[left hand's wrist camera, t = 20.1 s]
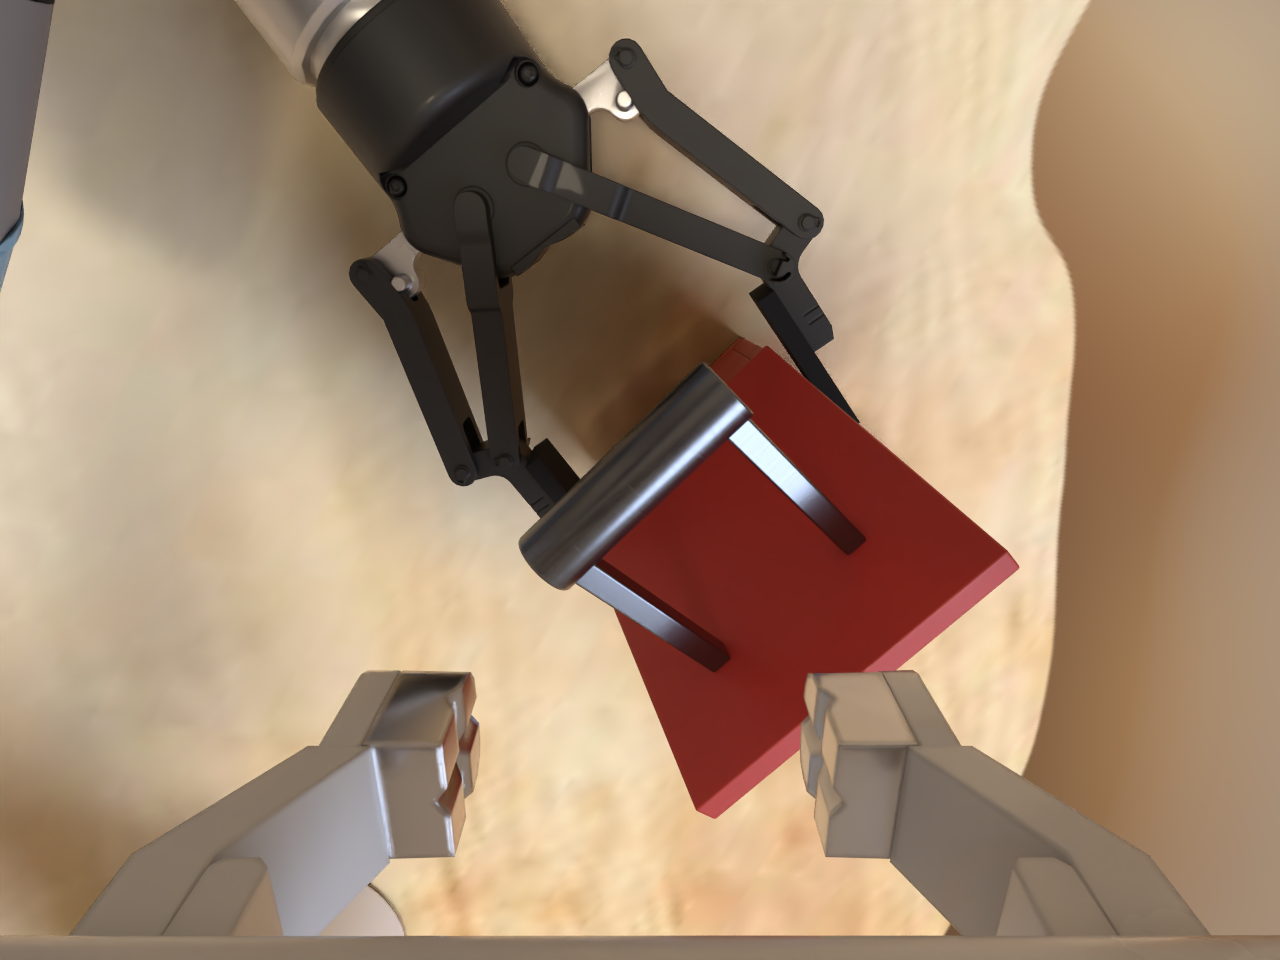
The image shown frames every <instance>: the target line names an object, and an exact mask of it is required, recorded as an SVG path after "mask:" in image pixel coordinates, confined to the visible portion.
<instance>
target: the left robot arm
mask: <svg viewBox="0 0 1280 960" xmlns="http://www.w3.org/2000/svg"><path fill="white" fill-rule="evenodd" d="M475 700H476V689H475V681H474V677H473V675H472V674H471V672H441V671H402V672H401V671H366V672H364V673H363V674H361V675H360V677H359V678H358V680H357V682H356V683H355V685H354V687H353V688H352V690H351V692H350V694H349V695H348V697H347V699H346V700H345V702H344V704H343V705H342V707H341V709H340V710H339V712H338V714H337V716H336V717H335V719H334V721H333V722H332V724H331V726H330V727H329V729H328V731H327V733H326V734H325V736H324V738H323V739H322V741H321V743H320V744H319V746H307V747H306V748H304V749H302V750H301V751H299V752H297V753H296V754H294V755H293V756H291V757H289V758H288V759H286V760H284V761H283V762H281V763H279V764H278V765H276V766H275V767H273V768H271V769H270V770H268V771H266V772H265V773H263V774H262V775H260V776H258V777H257V778H255V779H253V780H252V781H250V782H249V783H247V784H245V785H244V786H242V787H240V788H239V789H237V790H236V791H234V792H232V793H231V794H229V795H227V796H226V797H224V798H222V799H221V800H219V801H218V802H216V803H214V804H213V805H211V806H209V807H208V808H206V809H205V810H203V811H201V812H200V813H198V814H196V815H195V816H193V817H192V818H190V819H188V820H187V821H185V822H183V823H182V824H180V825H178V826H177V827H175V828H174V829H172V830H170V831H169V832H167V833H165V834H164V835H162V836H161V837H159V838H157V839H156V840H154V841H152V842H151V843H149V844H148V845H146V846H144V847H143V848H141V849H139V850H138V851H136V852H135V853H133V854H132V855H131V856H130V857H129V858H128V860H127V861H126V862H125V864H124V865H123V866H122V867H121V869H120V870H119V871H118V873H117V874H116V875H115V876H114V878H113V879H112V880H111V882H110V883H109V884H108V885H107V887H106V888H105V889H104V891H103V892H102V893H101V894H100V896H99V897H98V898H97V900H96V901H95V902H94V904H93V905H92V906H91V907H90V909H89V910H88V911H87V913H86V914H85V915H84V916H83V918H82V919H81V920H80V922H79V923H78V924H77V925H76V927H75V928H74V929H73V931H72V932H71V933H70V934H69V936H0V960H1280V936H1211V934H1210V933H1209V932H1208V931H1207V929H1206V928H1205V927H1204V925H1203V924H1202V923H1201V921H1200V920H1199V919H1198V918H1197V916H1196V915H1195V914H1194V912H1193V911H1192V910H1191V908H1190V907H1189V906H1188V905H1187V903H1186V902H1185V901H1184V899H1183V898H1182V897H1181V896H1180V894H1179V893H1178V892H1177V890H1176V889H1175V888H1174V887H1173V885H1172V884H1171V883H1170V881H1169V880H1168V879H1167V877H1166V876H1165V875H1164V874H1163V872H1162V871H1161V870H1160V868H1159V867H1158V866H1157V864H1156V863H1155V862H1154V860H1153V859H1152V858H1151V857H1150V855H1148V854H1147V853H1145V852H1143V851H1142V850H1140V849H1138V848H1137V847H1135V846H1133V845H1132V844H1130V843H1129V842H1127V841H1125V840H1124V839H1122V838H1121V837H1119V836H1117V835H1116V834H1114V833H1112V832H1111V831H1109V830H1108V829H1106V828H1104V827H1103V826H1101V825H1099V824H1098V823H1096V822H1095V821H1093V820H1091V819H1090V818H1088V817H1086V816H1085V815H1083V814H1082V813H1080V812H1078V811H1077V810H1075V809H1073V808H1072V807H1070V806H1069V805H1067V804H1065V803H1064V802H1062V801H1060V800H1059V799H1057V798H1056V797H1054V796H1052V795H1051V794H1049V793H1047V792H1046V791H1044V790H1043V789H1041V788H1039V787H1038V786H1036V785H1035V784H1033V783H1031V782H1030V781H1028V780H1026V779H1025V778H1023V777H1022V776H1020V775H1018V774H1017V773H1015V772H1013V771H1012V770H1010V769H1009V768H1007V767H1005V766H1004V765H1002V764H1000V763H999V762H997V761H996V760H994V759H992V758H991V757H989V756H987V755H986V754H984V753H983V752H981V751H979V750H978V749H976V748H974V747H973V746H961V744H960V743H959V741H958V739H957V738H956V736H955V734H954V733H953V731H952V729H951V728H950V726H949V724H948V723H947V721H946V719H945V718H944V716H943V714H942V713H941V711H940V709H939V708H938V706H937V704H936V703H935V701H934V699H933V698H932V696H931V694H930V692H929V691H928V689H927V687H926V686H925V684H924V682H923V681H922V679H921V677H920V676H919V674H918V673H916V672H915V671H913V670H900V671H878V672H845V673H808V674H807V677H806V681H805V688H804V700H805V704H806V707H807V710H808V713H809V715H808V716H807V717H806V718H805V719H804V720H803V722H802V723H801V732H800V760H801V768H802V774H803V779H804V783H805V786H806V790H807V792H808V793H809V794H810V795H811V796H813V797H814V798H815V799H816V801H815V811H814V819H815V822H816V826H817V829H818V833H819V836H820V840H821V843H822V846H823V850H824V853H825V857H847V858H882V859H890V862H891V863H892V864H893V865H894V866H895V867H896V868H897V869H898V870H899V871H900V872H901V873H902V874H903V875H904V876H905V878H906V879H907V880H908V881H909V882H910V883H911V884H912V885H913V886H914V887H915V888H916V889H917V890H918V891H919V892H920V893H921V894H922V895H923V896H924V897H925V898H926V899H927V900H928V901H929V902H930V903H931V904H932V905H933V906H934V907H935V908H936V909H937V910H938V911H939V912H940V913H941V914H942V915H943V916H944V917H945V918H946V919H947V920H948V921H949V922H950V923H951V924H952V925H953V926H954V927H955V928H956V930H957V931H958V932H959V933H960V934H961V935H962V936H405V934H404V931H403V928H402V925H401V923H400V921H399V919H398V917H397V915H396V913H395V912H394V911H393V909H392V908H391V907H390V905H389V904H388V903H387V902H386V901H385V900H384V899H383V898H382V897H381V896H380V895H379V894H378V893H377V892H376V891H374V890H373V889H372V888H371V887H369V886H368V884H369V883H370V882H371V881H372V880H373V879H374V878H375V877H376V876H377V875H378V874H379V873H380V872H381V871H382V870H383V869H384V868H385V867H386V866H387V865H388V864H389V863H390V861H389V859H397V858H431V857H455V854H456V850H457V847H458V843H459V840H460V836H461V833H462V829H463V826H464V822H465V819H466V811H465V801H464V799H465V798H466V797H467V796H469V795H470V794H471V793H472V792H473V790H474V786H475V782H476V779H477V774H478V766H479V758H480V730H479V723H478V722H477V720H476V719H475V718H474V717H473V716H472V715H471V713H472V710H473V707H474V704H475Z"/></svg>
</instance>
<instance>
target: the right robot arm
mask: <svg viewBox="0 0 1280 960" xmlns="http://www.w3.org/2000/svg"><path fill="white" fill-rule="evenodd" d="M54 1H55V0H0V291H1V288H2V284H3V281H4V277H5V274H6V271H7V267H8V264H9V260H10V257H11V254H12V250H13V247H14V245H15V244H16V242H17V241H18V239H19V236H20V234H21V230H22V226H23V217H24V208H23V200H22V198H23V192H24V186H25V179H26V173H27V167H28V161H29V155H30V148H31V142H32V136H33V130H34V124H35V117H36V111H37V105H38V99H39V93H40V86H41V80H42V74H43V68H44V62H45V55H46V49H47V43H48V37H49V31H50V24H51V18H52V12H53V6H54ZM234 1H235V2H236V4H237V5H238V6H239V7H240V9H241V10H242V11H243V13H244V14H245V15H246V16H247V18H248V19H249V20H250V22H251V23H252V24H253V26H254V27H255V28H256V29H257V31H258V32H259V33H260V35H261V36H262V37H263V38H264V40H265V41H266V42H267V44H268V45H269V46H270V47H271V49H272V50H273V51H274V53H275V54H276V55H277V57H278V58H279V59H280V60H281V62H282V63H283V64H284V66H285V67H286V68H287V69H288V71H289V72H290V73H291V75H292V76H293V77H294V79H295V80H296V81H298V82H300V83H302V84H303V85H308V86H313V87H316V94H317V106H318V108H319V109H320V111H321V112H322V113H323V114H324V116H325V117H326V118H327V120H328V121H329V122H330V123H331V125H332V126H333V127H334V128H335V130H336V131H337V132H338V133H339V135H340V136H341V137H342V138H343V140H344V141H345V142H346V144H347V145H348V146H349V147H350V149H351V150H352V151H353V152H354V154H355V155H356V156H357V157H358V159H359V160H360V161H361V163H362V164H363V165H364V166H365V168H366V169H367V170H368V171H369V173H370V174H371V175H372V176H373V178H374V179H375V180H376V181H377V183H378V184H379V185H380V187H381V188H382V189H383V190H384V191H385V193H386V194H387V195H388V196H389V198H390V199H391V201H392V202H393V204H394V206H395V208H396V211H397V213H398V217H399V221H400V226H401V230H402V231H401V232H400V233H399V234H398V235H396V236H395V237H394V238H393V239H392V240H391V241H389V242H388V243H387V244H386V245H385V246H384V247H383V248H381V249H380V250H379V251H378V252H377V253H376V254H374V255H373V256H372V257H369V258H364V259H359V260H357V261H355V262H354V263H353V264H352V265H351V267H350V271H349V276H350V280H351V282H352V283H353V285H354V286H355V287H356V288H357V290H358V291H359V292H360V293H361V294H362V295H363V297H364V298H365V299H366V300H367V301H368V302H369V304H370V305H371V306H372V307H373V308H374V309H375V311H376V312H377V313H378V314H379V315H380V316H381V318H382V319H383V320H384V322H385V325H386V327H387V329H388V332H389V334H390V337H391V339H392V341H393V344H394V346H395V348H396V351H397V353H398V356H399V358H400V360H401V363H402V365H403V368H404V370H405V372H406V375H407V377H408V380H409V382H410V384H411V387H412V389H413V391H414V394H415V396H416V399H417V401H418V403H419V406H420V408H421V411H422V413H423V415H424V418H425V420H426V423H427V425H428V427H429V430H430V432H431V434H432V437H433V439H434V442H435V444H436V446H437V449H438V451H439V454H440V456H441V458H442V461H443V463H444V466H445V468H446V470H447V473H448V475H449V477H450V479H451V480H452V482H454V483H455V484H457V485H460V486H468V485H470V484H472V483H473V482H474V481H475V480H478V479H482V478H485V477H489V476H501V477H504V478H506V479H507V480H508V481H510V482H511V484H512V485H513V486H514V487H515V488H516V489H517V491H518V492H519V493H520V494H521V495H522V497H523V498H524V499H525V500H526V501H527V503H528V504H529V505H531V507H532V508H533V510H534V511H535V512H536V513H537V514H538V516H539V517H540V518H541V517H542V516H543V515H544V514H545V513H546V512H547V511H548V510H549V509H551V508H552V507H553V506H554V505H555V504H556V503H557V502H558V501H559V500H560V499H561V498H562V497H563V496H564V495H565V494H566V493H567V492H568V491H569V490H570V489H571V488H572V487H573V486H574V485H575V484H576V483H577V482H578V481H579V480H580V478H579V477H578V476H577V475H576V473H575V472H574V471H573V470H572V468H571V467H570V466H569V465H568V463H567V462H566V461H565V460H564V458H563V457H562V456H561V455H560V453H559V452H558V451H557V450H556V448H555V447H554V446H553V445H552V444H551V442H550V441H549V440H548V439H547V438H546V439H545V440H543V441H542V442H541V443H539V444H538V445H536V446H535V447H534V448H533V451H532V450H531V449H530V448H529V444H530V438H528V439H527V430H526V421H525V412H524V403H523V394H522V386H521V377H520V368H519V359H518V350H517V341H516V332H515V323H514V315H513V286H512V276H516V275H517V276H519V275H520V274H522V273H523V272H525V271H526V270H528V269H529V268H530V267H531V266H533V265H534V264H535V263H537V262H538V261H539V260H540V259H541V258H542V256H543V255H544V253H545V252H546V251H547V249H548V248H549V247H550V245H551V244H554V243H556V242H559V241H561V240H564V239H566V238H568V237H569V236H571V235H572V234H574V233H575V232H576V231H577V230H579V229H580V228H581V227H582V226H584V225H585V224H584V223H585V221H586V220H587V218H588V216H589V214H590V211H591V210H593V211H595V212H598V213H600V214H603V215H605V216H608V217H610V218H613V219H616V220H619V221H621V222H624V223H626V224H629V225H631V226H634V227H636V228H639V229H641V230H644V231H646V232H649V233H651V234H654V235H656V236H658V237H661V238H663V239H666V240H668V241H671V242H673V243H676V244H678V245H681V246H683V247H686V248H688V249H691V250H693V251H695V252H698V253H700V254H703V255H705V256H708V257H710V258H713V259H715V260H718V261H720V262H723V263H725V264H728V265H730V266H733V267H735V268H737V269H740V270H742V271H745V272H747V273H750V274H752V275H755V276H757V277H760V278H761V279H762V281H763V282H764V283H763V284H761V285H760V286H759V287H757V288H756V289H754V290H753V291H752V292H750V293H749V295H750V296H751V298H752V299H753V301H754V302H755V304H756V305H757V307H758V308H759V310H760V311H761V313H762V314H763V316H764V317H765V319H766V320H767V322H768V323H769V325H770V326H771V328H772V329H773V331H774V332H775V334H776V335H777V337H778V338H779V340H780V341H781V343H782V344H783V346H784V348H785V349H786V351H787V352H788V354H789V355H790V357H791V358H792V360H793V361H794V363H795V364H796V366H797V367H798V369H799V370H800V372H801V373H802V375H803V376H804V377H805V378H806V379H807V380H808V381H809V382H810V383H812V384H813V385H814V386H815V387H816V388H817V389H819V390H820V391H821V392H822V393H823V394H824V395H826V396H827V397H828V398H829V399H830V400H831V401H833V402H834V403H835V404H836V405H837V406H838V407H840V408H841V409H842V410H843V411H844V412H846V413H847V414H848V415H849V416H850V417H851V418H853V419H854V420H855V421H856V422H857V423H860V422H859V420H858V419H857V417H856V416H855V414H854V413H853V411H852V410H851V408H850V406H849V405H848V403H847V402H846V400H845V399H844V397H843V396H842V394H841V393H840V391H839V389H838V388H837V386H836V385H835V383H834V382H833V380H832V379H831V377H830V376H829V374H828V373H827V371H826V369H825V368H824V366H823V365H822V363H821V362H820V360H819V359H818V357H817V356H816V354H815V351H817V350H818V349H819V348H821V347H822V346H824V345H825V344H827V343H828V342H830V341H831V340H833V339H834V337H833V331H832V325H831V324H830V322H829V321H828V319H827V317H826V316H825V314H824V313H823V311H822V310H821V308H820V306H819V305H818V303H817V302H816V300H815V298H814V297H813V295H812V294H811V292H810V291H809V289H808V287H807V286H806V284H805V283H804V281H803V280H802V278H801V276H800V274H799V271H798V261H799V258H800V256H801V254H802V252H803V251H804V249H805V248H806V247H807V245H808V244H809V242H810V241H811V240H812V238H814V237H816V236H817V235H818V234H819V233H820V232H821V230H822V227H823V222H824V219H823V215H822V213H821V212H820V210H819V209H818V208H817V207H815V206H814V205H813V204H812V203H810V202H809V201H808V200H806V199H805V198H804V197H803V196H801V195H800V194H799V193H797V192H796V191H795V190H794V189H792V188H791V187H790V186H789V185H787V184H786V183H785V182H783V181H782V180H781V179H780V178H778V177H777V176H776V175H774V174H773V173H772V172H771V171H769V170H768V169H767V168H766V167H764V166H763V165H762V164H760V163H759V162H758V161H757V160H755V159H754V158H753V157H751V156H750V155H749V154H748V153H746V152H745V151H744V150H743V149H741V148H740V147H739V146H737V145H736V144H735V143H734V142H732V141H731V140H730V139H729V138H727V137H726V136H725V135H723V134H722V133H721V132H720V131H718V130H717V129H716V128H714V127H713V126H712V125H711V124H709V123H708V122H707V121H706V120H704V119H703V118H702V117H700V116H699V115H698V114H697V113H695V112H694V111H693V110H691V109H690V108H689V107H688V106H686V105H685V104H684V103H683V102H681V101H680V100H679V99H677V98H676V97H675V96H674V95H672V94H671V93H670V92H668V91H667V89H666V88H665V86H664V84H663V83H662V81H661V79H660V78H659V76H658V75H657V73H656V71H655V70H654V68H653V67H652V65H651V63H650V62H649V60H648V58H647V57H646V55H645V54H644V52H643V50H642V49H641V47H640V46H639V45H638V44H637V43H636V42H635V41H633V40H631V39H621V40H619V41H617V42H616V43H615V44H614V45H613V46H612V48H611V51H610V54H609V59H608V60H606V61H605V62H604V63H603V64H601V65H600V66H599V67H598V68H597V69H595V70H594V71H593V72H592V73H590V74H589V75H588V76H587V77H586V78H584V79H583V80H582V81H581V82H579V83H578V84H577V85H576V86H574V87H573V88H572V87H570V86H568V85H566V84H564V83H562V82H560V81H559V80H557V79H556V78H554V77H553V76H552V75H551V74H550V73H549V72H548V71H547V70H546V68H545V67H544V65H543V64H542V62H541V61H540V60H539V58H538V57H537V55H536V54H535V52H534V51H533V49H532V48H531V46H530V45H529V43H528V42H527V41H526V39H525V38H524V36H523V35H522V33H521V32H520V30H519V29H518V27H517V26H516V24H515V23H514V21H513V20H512V19H511V17H510V16H509V14H508V13H507V11H506V10H505V8H504V7H503V5H502V4H501V2H500V1H499V0H234ZM600 110H601V111H607V112H609V113H611V114H612V115H613V116H614V117H615V118H616V119H617V120H619V121H622V122H629V121H632V120H634V119H635V118H636V117H638V116H639V117H640V118H641V119H642V120H643V121H644V122H645V123H646V125H647V126H648V127H649V128H650V129H652V130H653V131H654V132H655V133H656V134H657V135H659V136H660V137H661V138H662V139H664V140H665V141H666V142H668V143H669V144H670V145H672V146H673V147H674V148H676V149H677V150H678V151H679V152H681V153H682V154H683V155H685V156H686V157H687V158H689V159H690V160H691V161H692V162H694V163H695V164H696V165H698V166H699V167H700V168H702V169H703V170H704V171H706V172H707V173H708V174H709V175H711V176H712V177H713V178H715V179H716V180H717V181H719V182H720V183H721V184H722V185H724V186H725V187H726V188H728V189H729V190H730V191H732V192H733V193H734V194H736V195H737V196H738V197H739V198H741V199H742V200H743V201H745V202H746V203H747V204H749V205H750V206H751V207H753V208H754V209H755V210H756V211H758V212H759V213H760V214H762V215H763V216H764V217H766V218H767V219H768V220H769V221H771V222H772V223H773V224H775V225H776V227H775V229H774V230H773V231H772V233H771V234H770V236H769V237H768V239H767V240H766V241H765V243H762V242H760V241H757V240H755V239H752V238H750V237H748V236H745V235H743V234H740V233H738V232H735V231H733V230H730V229H728V228H726V227H723V226H721V225H718V224H716V223H713V222H711V221H709V220H706V219H704V218H701V217H699V216H696V215H694V214H692V213H689V212H687V211H684V210H682V209H679V208H677V207H675V206H672V205H670V204H667V203H665V202H662V201H660V200H658V199H655V198H653V197H650V196H648V195H645V194H643V193H641V192H638V191H636V190H633V189H631V188H628V187H626V186H623V185H621V184H619V183H616V182H614V181H611V180H609V179H606V178H604V177H602V176H599V175H597V174H594V173H592V153H591V118H590V115H591V114H592V113H594V112H596V111H600ZM423 253H424V254H427V255H430V256H433V257H437V258H440V259H443V260H446V261H449V262H452V263H455V264H458V265H461V266H462V271H463V278H464V286H465V293H466V300H467V306H468V309H469V311H470V312H471V316H472V322H473V330H474V337H475V345H476V352H477V360H478V367H479V375H480V383H481V390H482V398H483V405H484V413H485V420H486V428H487V435H488V440H487V441H484V442H483V439H482V437H481V434H480V432H479V429H478V427H477V424H476V422H475V419H474V416H473V414H472V411H471V409H470V406H469V404H468V401H467V399H466V396H465V394H464V391H463V389H462V386H461V384H460V381H459V378H458V376H457V373H456V371H455V368H454V366H453V363H452V361H451V358H450V356H449V353H448V351H447V348H446V345H445V343H444V340H443V338H442V335H441V333H440V330H439V328H438V325H437V323H436V320H435V318H434V315H433V313H432V311H431V308H430V306H429V304H428V302H427V301H426V299H425V297H424V295H423V294H422V292H421V291H422V290H423V288H424V286H425V276H424V274H423V272H422V270H421V267H420V258H421V255H422V254H423Z"/></svg>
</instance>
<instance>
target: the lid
mask: <svg viewBox="0 0 1280 960" xmlns="http://www.w3.org/2000/svg"><path fill="white" fill-rule="evenodd" d="M519 548H520V551H521V553H522V555H523V557H524V558H525V560H526V561H527V563H528V564H529V566H530V567H531V568H532V569H533V570H534V571H535V572H536V573H537V574H538V575H539V576H540V577H541V578H542V579H543V580H544V581H546V582H547V583H548V584H550V585H551V586H553V587H555V588H557V589H559V590H568V589H570V588H571V587H572V586H573V585H574V584H575V583H576V584H577V585H579V586H580V587H582V588H583V589H585V590H586V591H588V592H589V593H591V594H593V595H594V596H596V597H597V598H599V599H600V600H602V601H603V602H605V603H607V604H608V605H610V606H611V607H613V608H614V610H615V613H616V615H617V618H618V620H619V622H620V625H621V627H622V630H623V632H624V635H625V637H626V640H627V642H628V645H629V647H630V649H631V652H632V654H633V657H634V659H635V662H636V664H637V667H638V669H639V671H640V674H641V676H642V679H643V681H644V684H645V686H646V689H647V691H648V694H649V696H650V698H651V701H652V703H653V706H654V708H655V711H656V713H657V716H658V718H659V721H660V723H661V725H662V728H663V730H664V733H665V735H666V738H667V740H668V743H669V745H670V747H671V750H672V752H673V755H674V757H675V760H676V762H677V765H678V767H679V770H680V772H681V774H682V777H683V779H684V782H685V784H686V787H687V789H688V792H689V794H690V797H691V799H692V801H693V804H694V806H695V809H696V810H697V811H698V812H701V813H703V814H705V815H707V816H709V817H712V818H714V819H715V818H717V817H718V816H720V815H721V814H722V813H723V812H724V811H726V810H727V809H728V808H729V807H731V806H732V805H733V804H734V803H735V802H737V801H738V800H739V799H740V798H741V797H743V796H744V795H745V794H746V793H748V792H749V791H750V790H751V789H752V788H754V787H755V786H756V785H757V784H758V783H760V782H761V781H762V780H763V779H765V778H766V777H767V776H768V775H769V774H771V773H772V772H773V771H774V770H775V769H777V768H778V767H779V766H780V765H781V764H783V763H784V762H785V761H786V760H788V759H789V758H790V757H791V756H792V755H794V754H795V753H796V752H797V751H798V750H800V732H801V723H802V722H803V720H804V719H805V718H806V717H807V716H808V715H809V713H808V710H807V707H806V704H805V700H804V688H805V681H806V677H807V674H808V673H845V672H878V671H895V670H897V669H898V668H899V667H900V666H902V665H903V664H904V663H905V662H906V661H908V660H909V659H910V658H911V657H912V656H914V655H915V654H916V653H917V652H919V651H920V650H921V649H922V648H923V647H925V646H926V645H927V644H928V643H929V642H931V641H932V640H933V639H934V638H936V637H937V636H938V635H939V634H940V633H942V632H943V631H944V630H945V629H946V628H948V627H949V626H950V625H951V624H952V623H954V622H955V621H956V620H957V619H959V618H960V617H961V616H962V615H963V614H965V613H966V612H967V611H968V610H969V609H971V608H972V607H973V606H974V605H976V604H977V603H978V602H979V601H980V600H982V599H983V598H984V597H985V596H986V595H988V594H989V593H990V592H991V591H993V590H994V589H995V588H996V587H997V586H999V585H1000V584H1001V583H1002V582H1003V581H1005V580H1006V579H1007V578H1008V577H1009V576H1011V575H1012V574H1013V573H1014V572H1016V571H1017V570H1018V569H1019V565H1018V564H1017V563H1016V561H1015V560H1014V559H1013V557H1012V556H1011V555H1010V553H1009V552H1008V551H1007V550H1006V549H1005V548H1004V547H1003V546H1001V545H1000V544H999V543H998V542H997V541H995V540H994V539H993V538H992V537H991V536H990V535H988V534H987V533H986V532H985V531H984V530H983V529H981V528H980V527H979V526H978V525H977V524H976V523H974V522H973V521H972V520H971V519H970V518H969V517H967V516H966V515H965V514H964V513H963V512H962V511H960V510H959V509H958V508H957V507H956V506H954V505H953V504H952V503H951V502H950V501H949V500H947V499H946V498H945V497H944V496H943V495H942V494H940V493H939V492H938V491H937V490H936V489H935V488H933V487H932V486H931V485H930V484H929V483H928V482H926V481H925V480H924V479H923V478H922V477H920V476H919V475H918V474H917V473H916V472H915V471H913V470H912V469H911V468H910V467H909V466H908V465H906V464H905V463H904V462H903V461H902V460H901V459H899V458H898V457H897V456H896V455H895V454H894V453H892V452H891V451H890V450H889V449H888V448H887V447H885V446H884V445H883V444H882V443H881V442H879V441H878V440H877V439H876V438H875V437H874V436H872V435H871V434H870V433H869V432H868V431H867V430H865V429H864V428H863V427H862V426H861V425H860V424H858V423H857V422H856V421H855V420H854V419H853V418H851V417H850V416H849V415H848V414H847V413H846V412H844V411H843V410H842V409H841V408H840V407H838V406H837V405H836V404H835V403H834V402H833V401H831V400H830V399H829V398H828V397H827V396H826V395H824V394H823V393H822V392H821V391H820V390H819V389H817V388H816V387H815V386H814V385H813V384H812V383H810V382H809V381H808V380H807V379H806V378H805V377H803V376H802V375H801V374H800V373H799V372H797V371H796V370H795V369H794V368H793V367H792V366H790V365H789V364H788V363H787V362H786V361H785V360H783V359H782V358H781V357H780V356H779V355H778V354H776V353H775V352H774V351H773V350H772V349H771V348H769V347H768V346H765V347H764V348H763V349H762V350H761V351H760V352H759V353H758V354H757V355H756V356H754V357H753V358H752V359H751V360H750V361H749V362H748V363H747V364H746V365H745V366H744V367H743V368H742V369H741V370H740V371H739V372H738V373H737V374H736V375H735V376H734V377H733V378H732V379H731V380H730V381H728V382H727V383H725V382H724V381H723V380H722V379H721V378H720V377H719V376H718V375H717V374H716V373H715V372H714V371H713V370H712V369H711V368H710V367H709V366H708V365H707V363H706V362H704V361H702V362H700V363H699V364H698V365H697V366H696V367H695V368H694V369H693V370H692V371H691V372H690V373H689V374H688V375H687V376H686V377H685V378H684V379H683V380H682V381H681V382H680V383H679V384H678V385H677V386H676V387H675V388H674V389H672V390H671V391H670V392H669V393H668V394H667V395H666V396H665V397H664V398H663V399H662V400H661V401H660V402H659V403H658V404H657V405H656V406H655V407H654V408H653V409H652V410H651V411H650V412H649V413H648V414H647V415H646V416H645V417H644V418H643V419H642V420H641V421H640V422H639V423H638V424H637V425H636V426H635V427H634V428H633V429H631V430H630V431H629V432H628V433H627V434H626V435H625V436H624V437H623V438H622V439H621V440H620V441H619V442H618V443H617V444H616V445H615V446H614V447H613V448H612V449H611V450H610V451H609V452H608V453H607V454H606V455H605V456H604V457H603V458H602V459H601V460H600V461H599V462H598V463H597V464H596V465H595V466H594V467H593V468H592V469H590V470H589V471H588V472H587V473H586V474H585V475H584V476H583V477H582V478H581V479H580V480H579V481H578V482H577V483H576V484H575V485H574V486H573V487H572V488H571V489H570V490H569V491H568V492H567V493H566V494H565V495H564V496H563V497H562V498H561V499H560V500H559V501H558V502H557V503H556V504H555V505H554V506H553V507H552V508H551V509H549V510H548V511H547V512H546V513H545V514H544V515H543V516H542V517H541V518H540V519H539V520H538V521H537V522H536V523H535V524H534V525H533V526H532V527H531V528H530V529H529V530H528V531H527V532H526V533H525V534H524V535H523V536H522V537H521V538H520V540H519Z"/></svg>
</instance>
